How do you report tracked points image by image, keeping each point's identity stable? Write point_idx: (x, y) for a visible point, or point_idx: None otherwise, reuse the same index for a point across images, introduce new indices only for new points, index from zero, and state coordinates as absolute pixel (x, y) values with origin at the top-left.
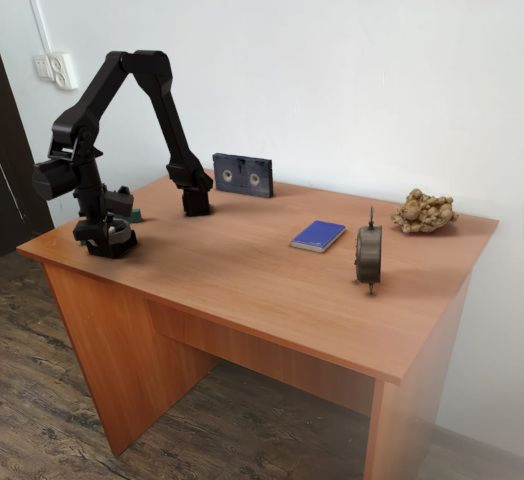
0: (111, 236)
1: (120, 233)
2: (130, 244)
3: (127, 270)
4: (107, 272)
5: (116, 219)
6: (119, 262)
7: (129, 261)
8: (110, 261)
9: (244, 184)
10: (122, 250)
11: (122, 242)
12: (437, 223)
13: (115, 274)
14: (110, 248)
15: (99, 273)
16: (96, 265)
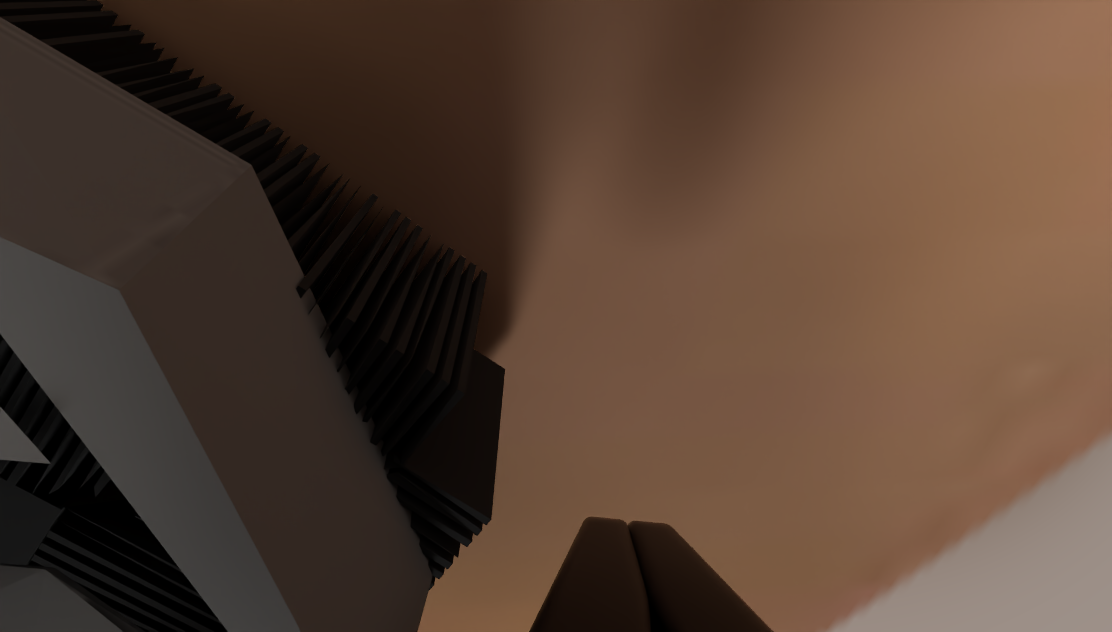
0: (324, 604)
1: (148, 313)
2: (46, 14)
3: (1067, 97)
4: (953, 436)
5: None
6: (664, 254)
7: (696, 58)
8: (566, 406)
9: None
10: (343, 207)
11: (274, 214)
12: None
13: (1099, 311)
14: (492, 488)
15: (924, 543)
16: None
